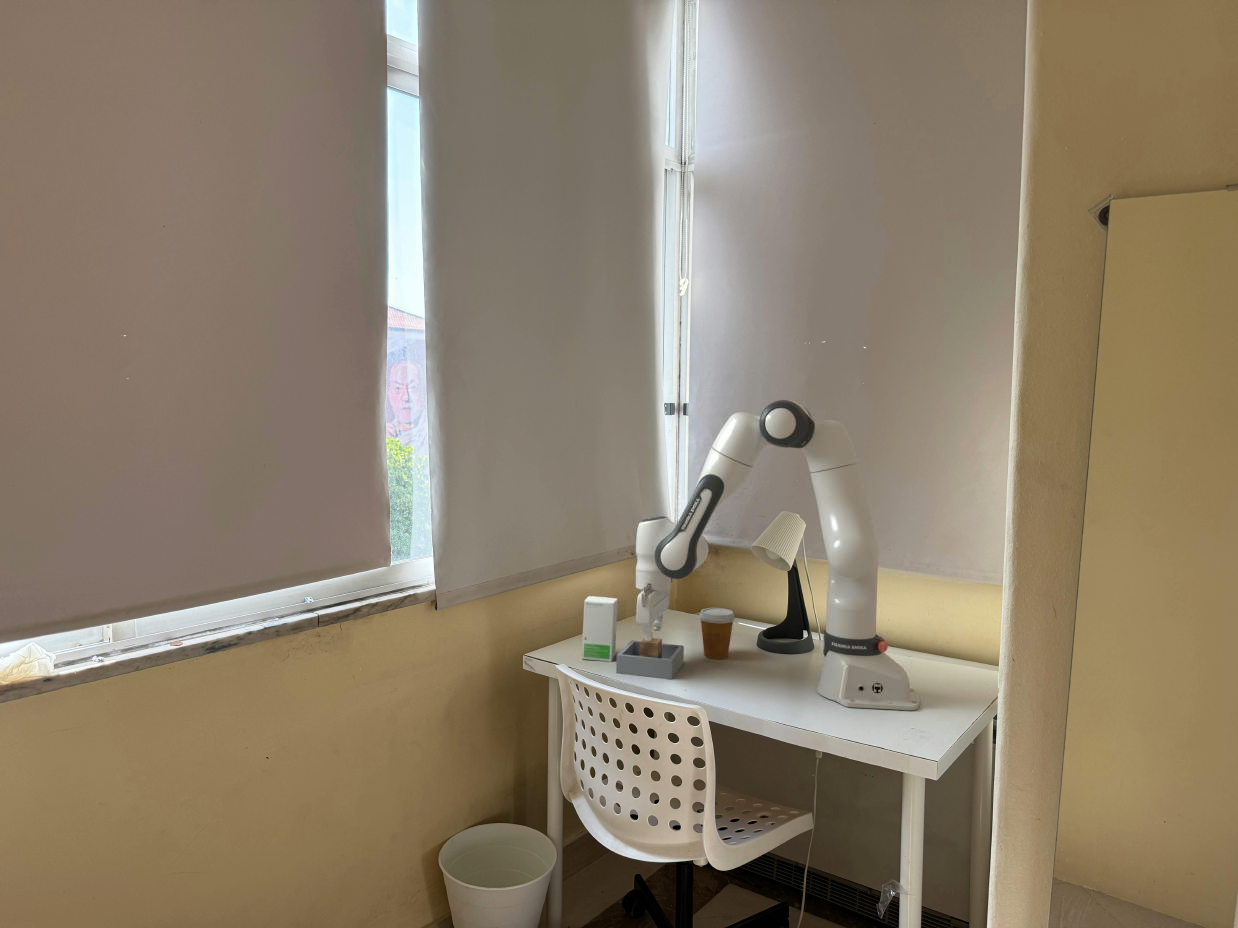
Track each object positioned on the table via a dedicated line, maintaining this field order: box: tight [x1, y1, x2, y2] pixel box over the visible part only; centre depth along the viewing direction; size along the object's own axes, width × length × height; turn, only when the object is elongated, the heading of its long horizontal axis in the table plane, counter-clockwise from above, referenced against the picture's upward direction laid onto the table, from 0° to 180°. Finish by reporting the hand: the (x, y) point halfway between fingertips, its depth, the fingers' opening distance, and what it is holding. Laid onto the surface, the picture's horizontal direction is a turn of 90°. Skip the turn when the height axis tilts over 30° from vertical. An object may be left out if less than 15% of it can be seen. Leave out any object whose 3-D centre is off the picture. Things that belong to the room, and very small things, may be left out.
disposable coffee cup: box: [698, 607, 736, 660], centre depth 203 cm, size 10×10×12 cm
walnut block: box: [640, 637, 663, 659], centre depth 192 cm, size 4×4×6 cm
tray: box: [615, 639, 685, 680], centre depth 192 cm, size 14×14×4 cm
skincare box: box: [581, 595, 619, 663], centre depth 200 cm, size 8×7×16 cm
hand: (653, 634), depth 192 cm, fingers open, 8 cm apart
